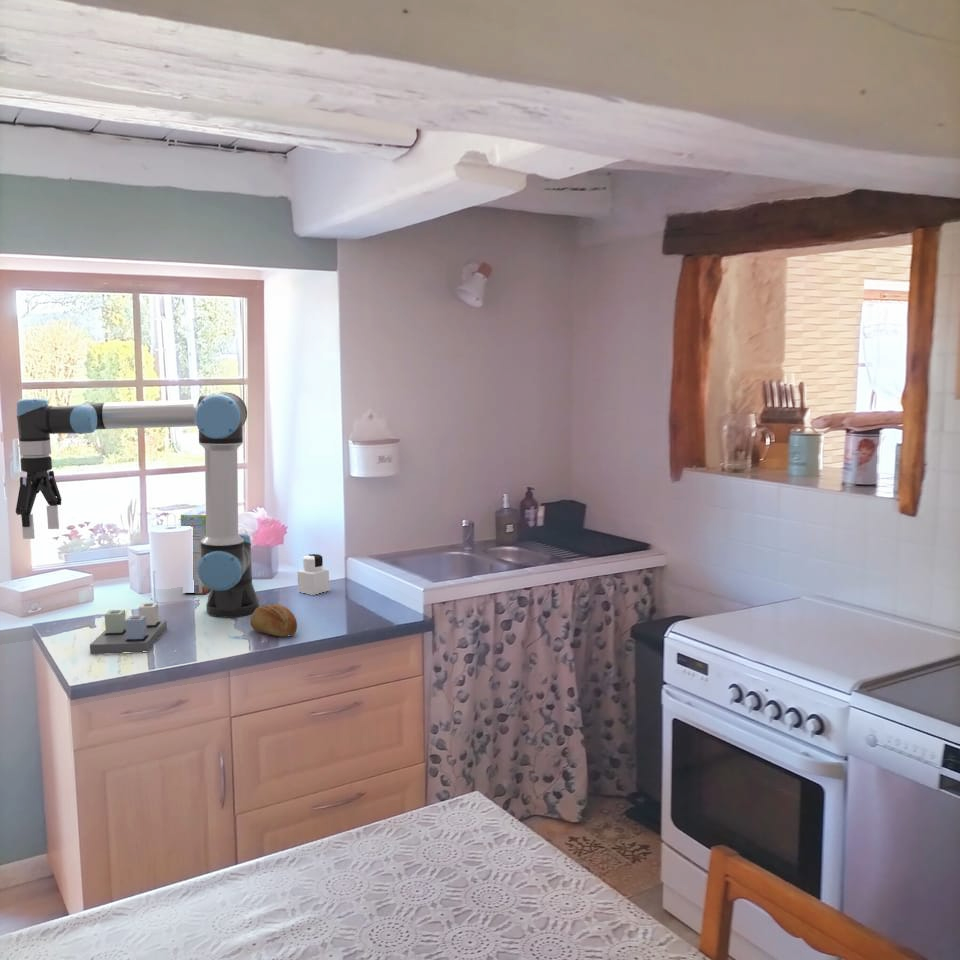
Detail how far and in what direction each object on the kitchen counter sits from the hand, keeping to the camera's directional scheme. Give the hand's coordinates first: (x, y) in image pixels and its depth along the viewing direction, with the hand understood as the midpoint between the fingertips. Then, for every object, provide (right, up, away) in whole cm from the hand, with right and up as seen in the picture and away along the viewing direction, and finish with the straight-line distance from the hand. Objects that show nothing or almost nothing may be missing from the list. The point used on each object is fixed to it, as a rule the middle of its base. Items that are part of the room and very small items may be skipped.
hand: (41, 533), depth 246 cm
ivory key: (+30, -24, -1) cm, 38 cm away
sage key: (+23, -25, -7) cm, 35 cm away
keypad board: (+27, -28, -7) cm, 39 cm away
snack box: (+30, -20, +50) cm, 62 cm away
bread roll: (+63, -27, 0) cm, 69 cm away
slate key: (+31, -26, -13) cm, 42 cm away
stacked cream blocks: (+66, -21, +43) cm, 82 cm away
